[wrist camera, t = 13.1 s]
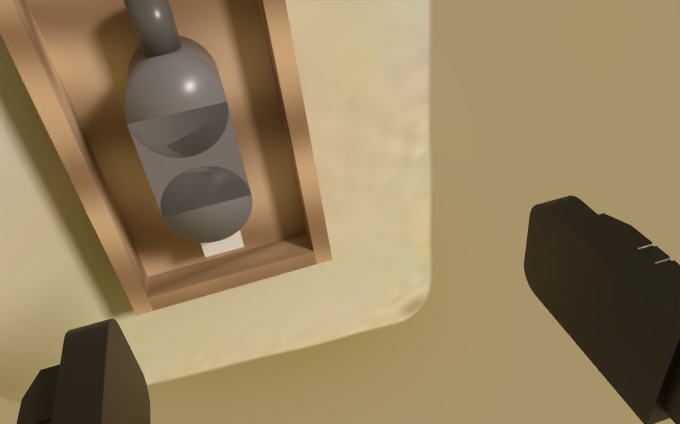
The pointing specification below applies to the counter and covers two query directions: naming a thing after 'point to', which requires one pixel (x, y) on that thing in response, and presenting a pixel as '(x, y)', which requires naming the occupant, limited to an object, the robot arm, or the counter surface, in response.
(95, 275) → the counter surface
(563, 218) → the robot arm
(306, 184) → the oak tray
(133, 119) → the gray bottle
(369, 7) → the counter surface
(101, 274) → the counter surface
